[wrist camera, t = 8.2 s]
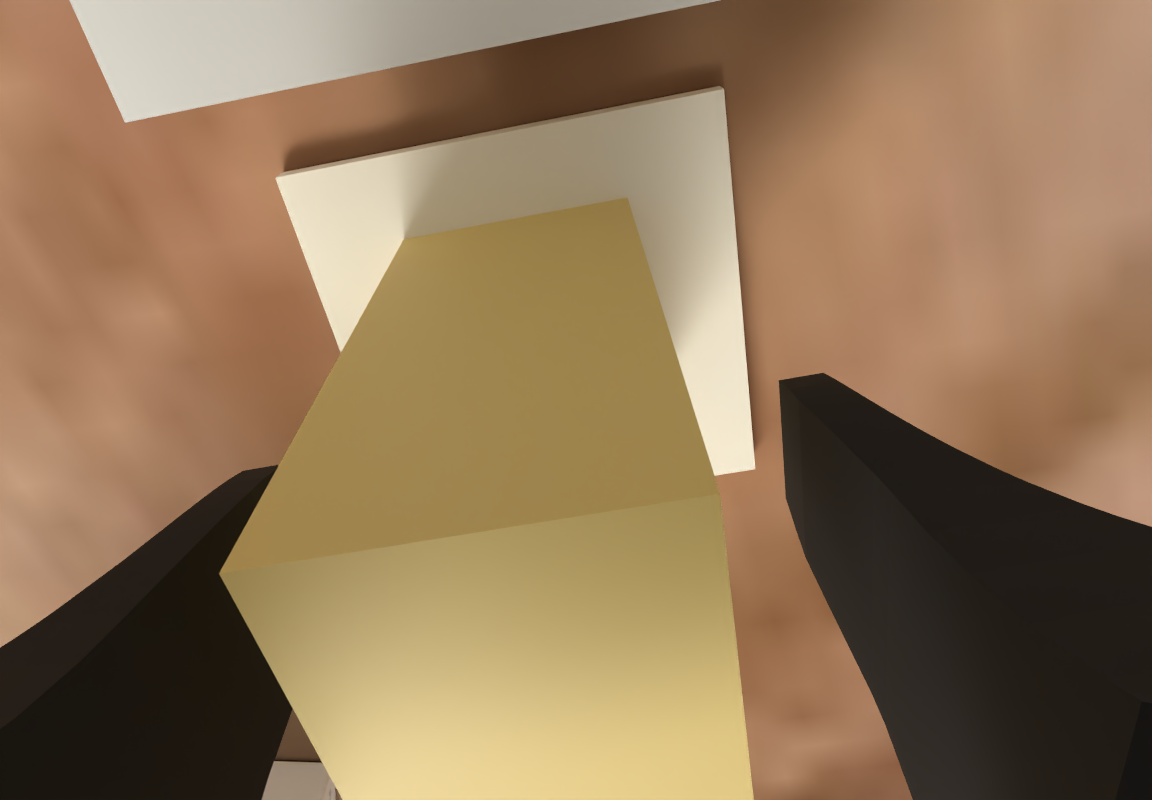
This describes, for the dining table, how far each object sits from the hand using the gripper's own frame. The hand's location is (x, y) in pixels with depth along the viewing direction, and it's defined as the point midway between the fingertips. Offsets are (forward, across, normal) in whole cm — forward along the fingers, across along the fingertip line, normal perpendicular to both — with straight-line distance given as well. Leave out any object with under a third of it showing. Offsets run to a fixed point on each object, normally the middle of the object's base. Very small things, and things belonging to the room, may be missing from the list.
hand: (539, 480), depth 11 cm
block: (+5, 0, 0) cm, 5 cm away
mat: (+5, 0, 0) cm, 5 cm away
